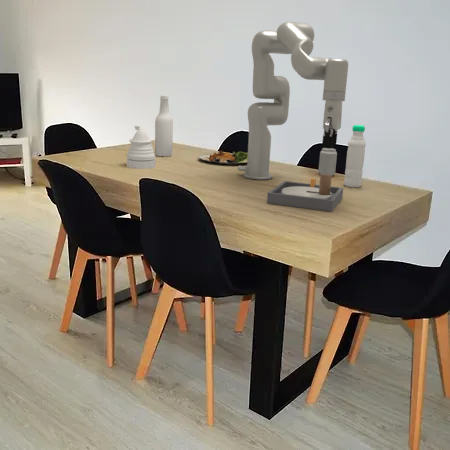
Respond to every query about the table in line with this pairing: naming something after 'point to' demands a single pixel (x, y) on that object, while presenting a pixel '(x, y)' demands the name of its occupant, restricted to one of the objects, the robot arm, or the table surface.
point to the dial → (312, 189)
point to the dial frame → (301, 201)
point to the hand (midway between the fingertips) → (329, 146)
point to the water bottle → (355, 157)
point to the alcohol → (163, 129)
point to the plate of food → (226, 157)
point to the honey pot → (140, 151)
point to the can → (327, 161)
